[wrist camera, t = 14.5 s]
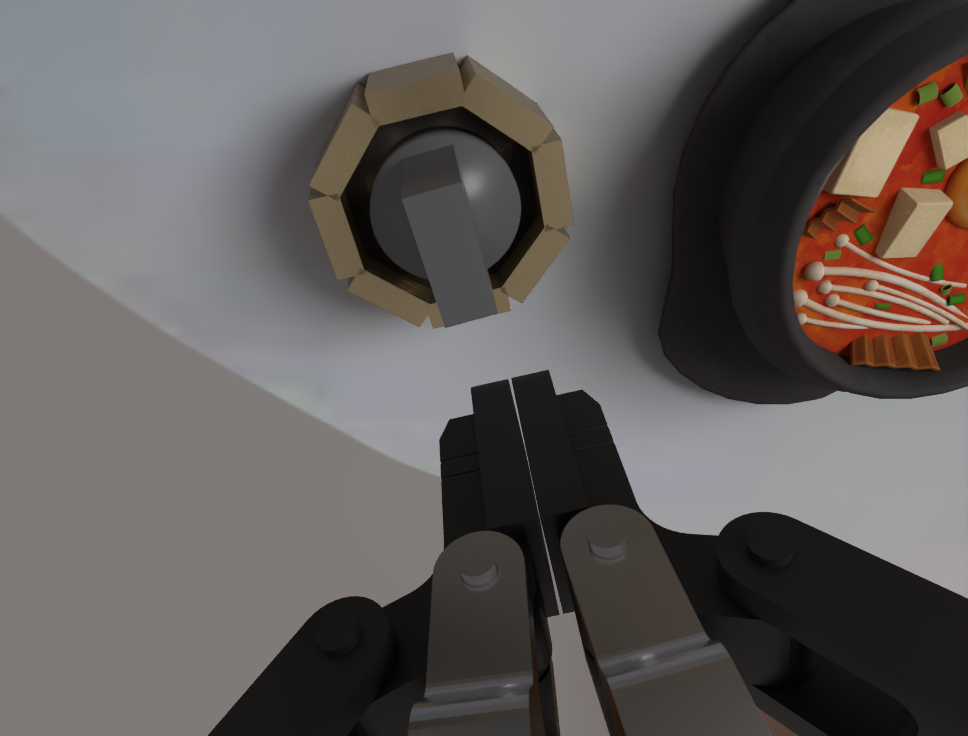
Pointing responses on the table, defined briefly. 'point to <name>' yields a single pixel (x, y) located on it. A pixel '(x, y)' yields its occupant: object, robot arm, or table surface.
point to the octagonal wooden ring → (414, 106)
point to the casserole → (828, 209)
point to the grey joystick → (447, 215)
